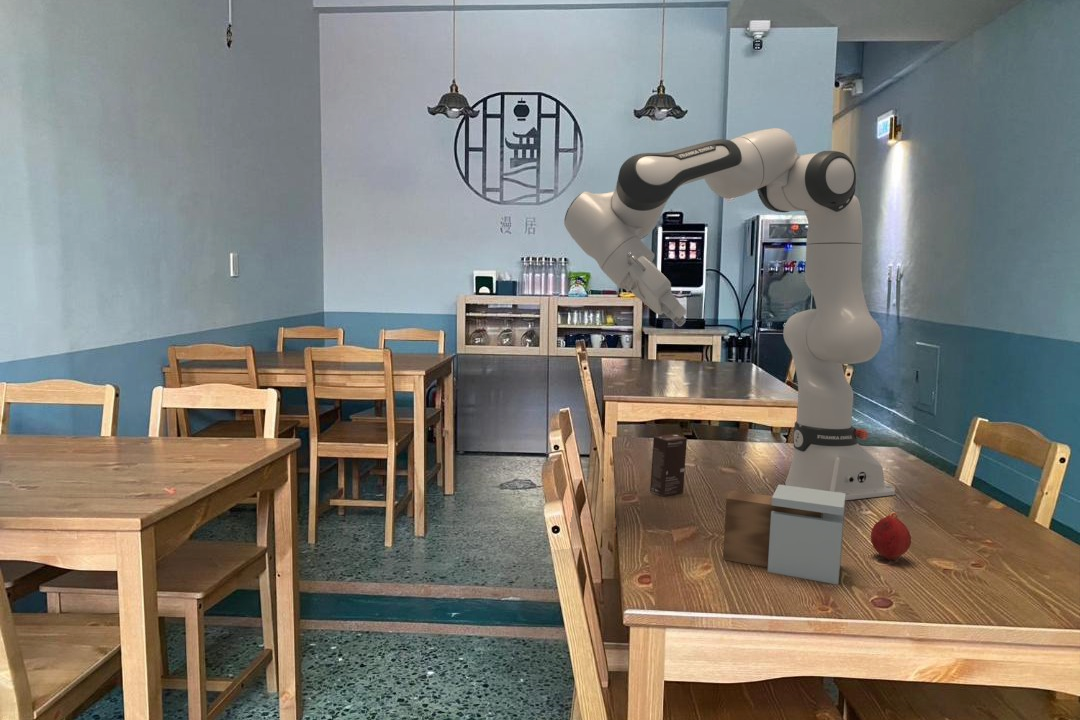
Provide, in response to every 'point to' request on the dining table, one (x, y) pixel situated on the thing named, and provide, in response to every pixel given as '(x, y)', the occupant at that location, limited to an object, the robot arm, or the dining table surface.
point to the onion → (890, 537)
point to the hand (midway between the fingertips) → (683, 319)
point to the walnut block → (751, 527)
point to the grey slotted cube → (807, 534)
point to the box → (668, 464)
